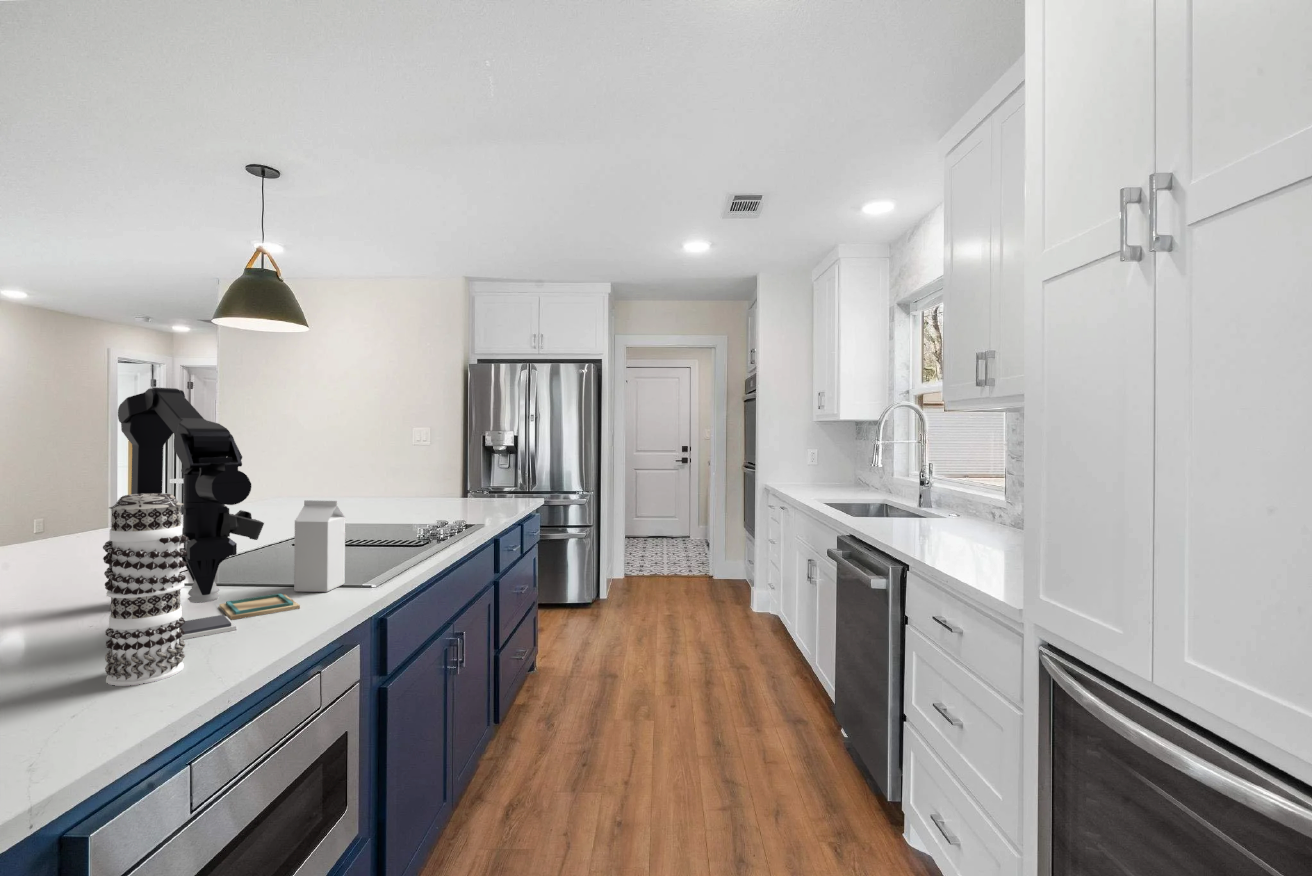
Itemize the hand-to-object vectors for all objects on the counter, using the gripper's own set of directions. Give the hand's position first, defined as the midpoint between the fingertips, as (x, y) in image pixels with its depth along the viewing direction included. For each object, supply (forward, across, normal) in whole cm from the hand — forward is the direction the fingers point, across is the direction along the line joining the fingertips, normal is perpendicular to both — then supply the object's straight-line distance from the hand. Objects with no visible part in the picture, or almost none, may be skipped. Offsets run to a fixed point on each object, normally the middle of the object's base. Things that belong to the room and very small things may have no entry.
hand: (203, 591), depth 105 cm
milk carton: (+7, +17, -23) cm, 29 cm away
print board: (+6, +8, -10) cm, 15 cm away
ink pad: (+6, 0, 0) cm, 6 cm away
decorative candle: (+6, -18, +9) cm, 21 cm away
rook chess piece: (+2, 0, 0) cm, 2 cm away
